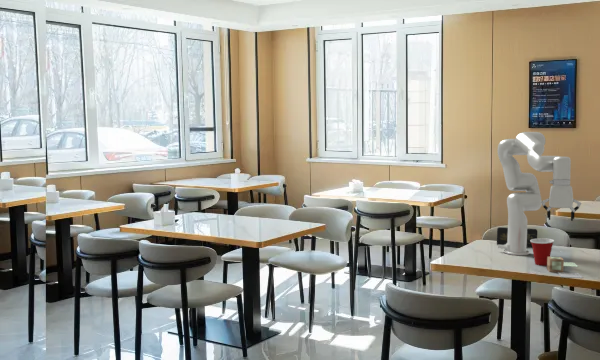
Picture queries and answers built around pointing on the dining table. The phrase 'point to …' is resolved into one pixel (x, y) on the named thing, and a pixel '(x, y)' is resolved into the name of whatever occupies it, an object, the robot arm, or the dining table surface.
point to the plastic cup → (541, 250)
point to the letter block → (555, 264)
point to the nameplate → (503, 236)
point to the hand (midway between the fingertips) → (560, 220)
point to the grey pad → (570, 275)
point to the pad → (570, 264)
